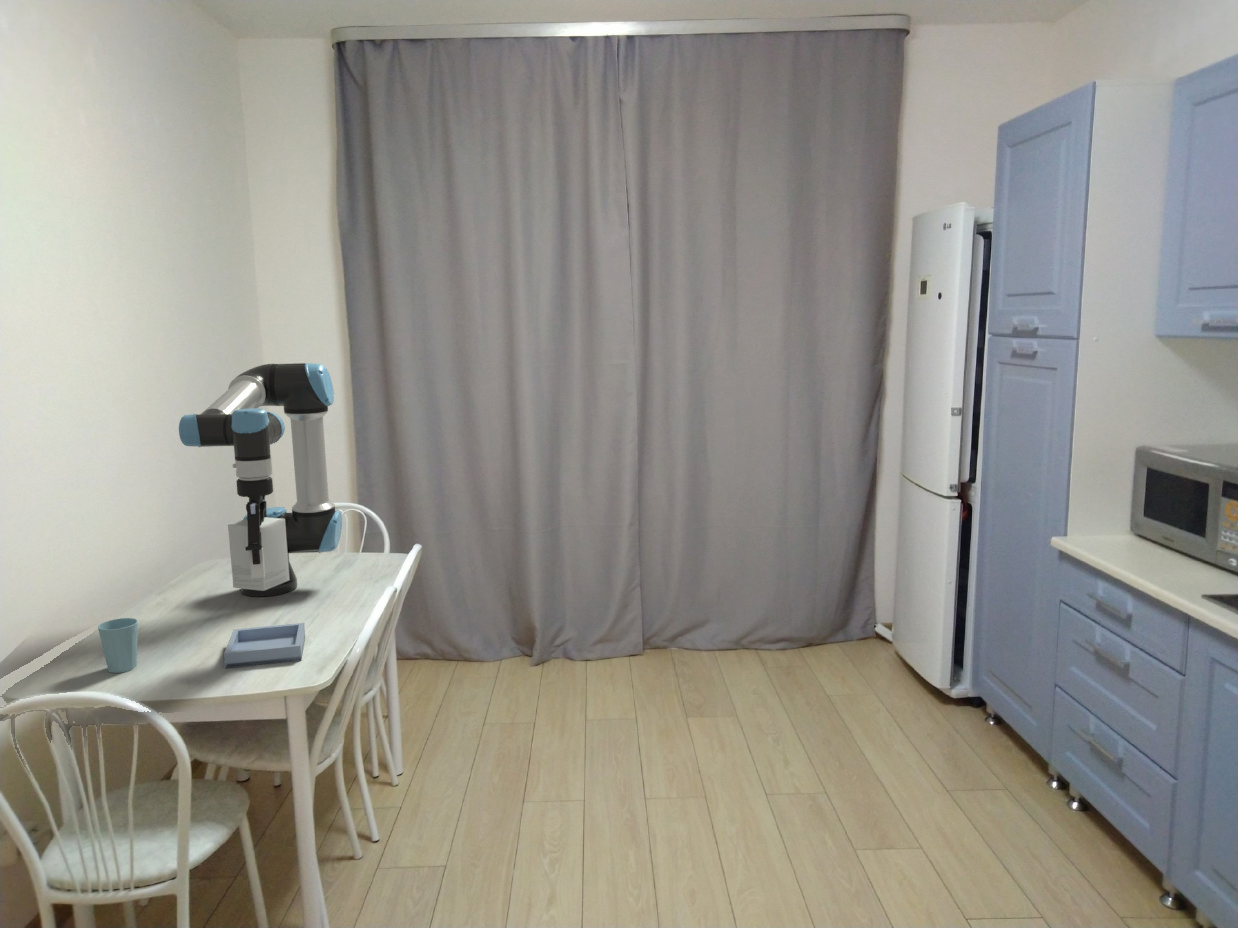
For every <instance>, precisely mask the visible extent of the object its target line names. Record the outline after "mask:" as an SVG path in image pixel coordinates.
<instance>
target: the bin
mask: <svg viewBox="0 0 1238 928" xmlns="http://www.w3.org/2000/svg"><path fill="white" fill-rule="evenodd" d="M305 640H306V625H305V622H301V623H299V622H298V623H297V622H296V623H288V624H287V623H286V624H277V625H266V626H259V627H258V626H257V627H246V628H236V629H235V628H234V629H232V632H231V635H230V637H229V639H228V643H227V645H226V648H225V649H224V653H223V657H224V661H223V662H224V669H226V670H227V669H234V668H242V667H251V666H252V667H253V666H262V665H270V664H272V665H273V664H279V663H280V664H281V663H287V662H288V663H290V662H299V661H302V658H303V653H304V647H305Z"/></svg>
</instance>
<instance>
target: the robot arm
mask: <svg viewBox="0 0 1238 928" xmlns="http://www.w3.org/2000/svg"><path fill="white" fill-rule="evenodd" d="M331 377H332V376H331V374H330V372H329V370H328V368H327V367H326V366H325V365H323V364H321V363H313V362H311V363H309V362H303V363H302V362H301V363H299V362H298V363H297V362H295V363H267V364H261V365H257V366H254V367H252V368H250V369H247V370H246V371H243V372H242V373H240V374H238V375H237V376H236V377H234V378H233V380H231V381H230V382H229V384H228V388H227V389H226V391H225V392H224V393H223V394H222V395H221V396H219V397H218V398H216V400H214V402H212V404H210V405H209V406H208V407H207V408H206V409H205V410H204V411H202V413H200V414H198V413H197V414H196V413H193V414H186V415H183V416H182V417H180V420H179V422H178V423H179V424H178V435H179V440H180V441H181V443H182V444H183V445H184V446H186V447H197V448H206V447H208V448H209V447H233V452H234V462H235V463H233V464H232V465H231V467H232V469H233V468H234V469H236V470H235V475H236V477H237V478H238V479H237V480H236V494H237V495H238V496H239V497H242V498H248V501H247V502H246V504H245V510H246V514H245V516H244V517H242V520H245V519H247V520H248V547H245V548H246V551H248V550H249V553H250V566H251V578H263V577H265V573H264V559H263V548H262V539H261V532H260V526H261V524H262V522H263V521H264V518H265V517H267V518H281V519H285V525H286V539H287V553H288V566H289V581H287V582H284V583H282V584H279V585H277V586H274V587H272V588H269V589H267V590H265V591H261V590H251V589H242V588H240V593H241V594H242V595H245V596H248V597H269V596H271V597H272V596H277V595H283V594H286V593H288V592H289V593H290V592H291V591H294V590H295V589H297V587H298V578H297V576H296V572H295V571H294V569H293V567H292V564H291V562H290V554H300V553H301V554H308V553H312V554H313V553H319V554H321V553H329V552H330V553H331V552H334V551H335V550H336V549H337V548H338V546H339V544H340V540H341V535H342V529H343V528H342V527H343V516H342V512H341V511H338V510H336V506H335V503H334V502H333V501H331V500H330V498H329V487H328V484H329V483H328V469H327V459H326V458H327V456H326V455H327V454H326V447H325V446H326V442H325V429H324V428H325V427H324V416H325V415H326V414H327V413H328V412H329V407H330V406H332V405H333V404H334V394H335V392H334V386H333V381H332V378H331ZM268 406H269V407H283V414H284V415H285V416H287V417H288V418H289V420H290V429H291V441H292V443H291V444H292V456H293V467H294V469H293V470H294V482H295V494H296V495H295V496H296V502H295V504H294V505H293V506H292V507H291V512H287V509H286V507H284V506H272V507H267V501H266V498H265V497H266V496H269V495H271V494H273V493H274V484H273V478H272V477H271V476H272V475H273V466H272V455H271V445H273V444H275V443H277V442H278V441H280V439H281V438H282V437H283V436H284V433H285V430H286V425H285V422H284V421H283V418H282V417H281V416H280V415H279V414H277V413H275V412H271V411H267V409H264V408H260V407H268ZM253 543H256V544H253Z"/></svg>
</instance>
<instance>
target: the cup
mask: <svg viewBox="0 0 1238 928" xmlns="http://www.w3.org/2000/svg"><path fill="white" fill-rule="evenodd" d="M138 628H139V619H137V618H133V617H121V618H114V619H111V620H107V621H104V622H102V623H100V624H98V626H97V629H98V630H97V631H98V633H99V637H100V641H101V647H102V650H103V654H104V659H105V663H106V667H107V670H108V672H109V673H112V674H120V673H126V672H130V671H131V670H134V669H135V668H136V667H137V663H138V661H137V660H138V633H139V632H138Z"/></svg>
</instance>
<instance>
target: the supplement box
mask: <svg viewBox="0 0 1238 928" xmlns="http://www.w3.org/2000/svg"><path fill="white" fill-rule="evenodd" d="M227 531H228V539H229V540H228V541H229V543H228V544H229V551H230V563H231V574H232V588H233V589H234V588H235V589H241V588H242V589H251V590H261V591H265V590H267V589H269V588H272V587H274V586H277V585H279V584H282V583H284V582H287V581H289V566H288V553H287V539H286V525H285V519H281V518H267V517H265V518H264V521H263V522H262V524H261V526H260V532H261V539H262V548H263V559H264V573H265V577H263V578H251V566H250V553H249V550H248V551H246V548H245V547H248V520H247V519H245V520H243V519H242V520H238V521H234V522H231V523H228V524H227ZM253 544H256V543H253Z"/></svg>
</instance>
